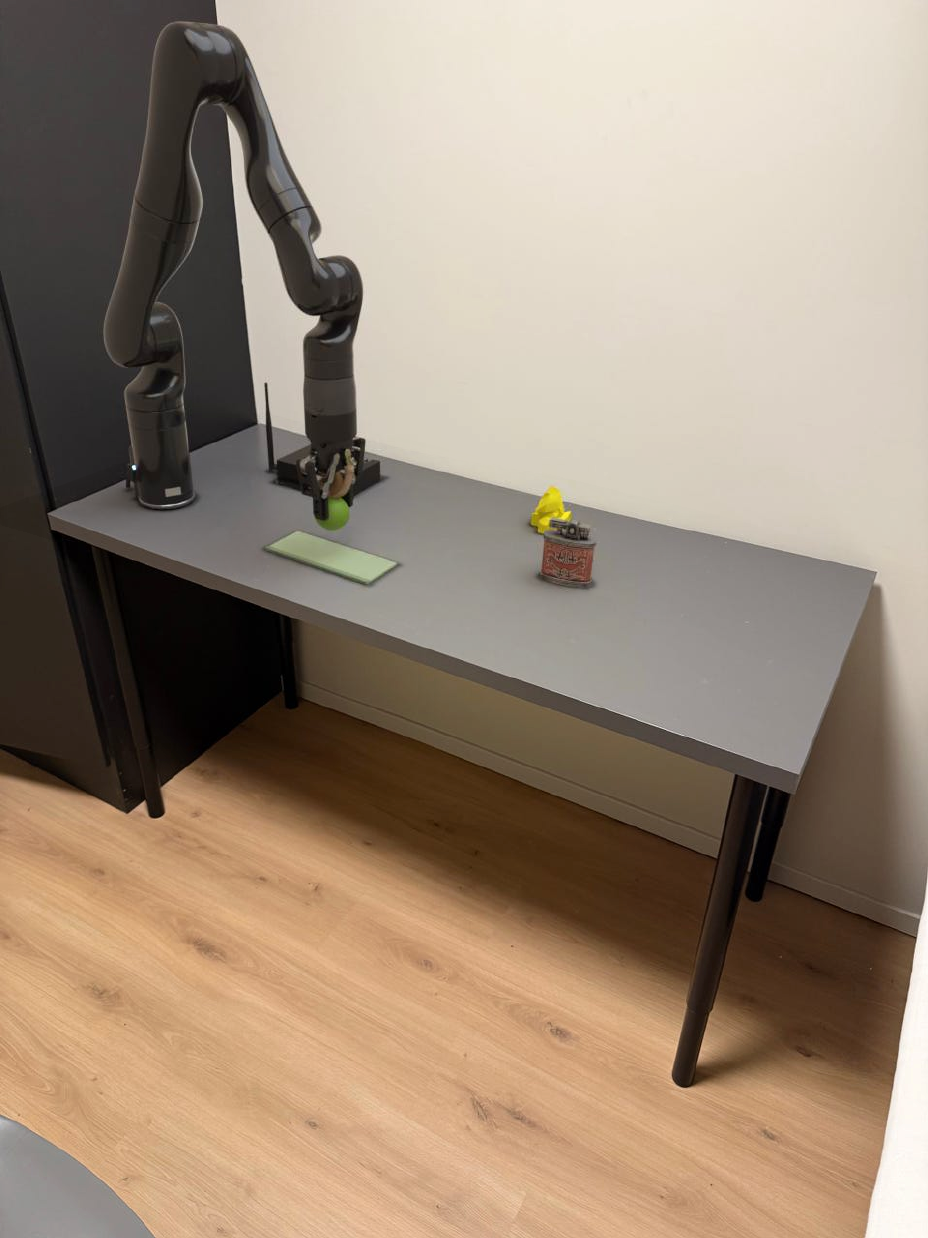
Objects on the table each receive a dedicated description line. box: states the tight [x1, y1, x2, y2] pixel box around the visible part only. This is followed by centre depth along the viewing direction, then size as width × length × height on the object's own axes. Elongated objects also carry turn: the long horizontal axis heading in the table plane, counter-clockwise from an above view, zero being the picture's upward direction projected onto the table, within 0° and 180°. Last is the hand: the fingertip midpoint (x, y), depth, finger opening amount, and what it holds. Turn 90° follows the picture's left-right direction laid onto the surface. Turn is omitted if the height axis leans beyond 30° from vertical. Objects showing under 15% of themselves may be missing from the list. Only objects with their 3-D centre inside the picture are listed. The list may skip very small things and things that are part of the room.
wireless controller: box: [263, 382, 385, 497], centre depth 169 cm, size 20×14×17 cm
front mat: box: [264, 530, 398, 586], centre depth 146 cm, size 20×8×1 cm, turn 59°
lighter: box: [539, 518, 597, 589], centre depth 140 cm, size 8×3×10 cm, turn 71°
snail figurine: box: [313, 457, 354, 532], centre depth 140 cm, size 5×6×12 cm
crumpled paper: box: [530, 485, 572, 535], centre depth 158 cm, size 6×8×8 cm
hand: (333, 511), depth 141 cm, fingers closed on snail figurine, 5 cm apart
